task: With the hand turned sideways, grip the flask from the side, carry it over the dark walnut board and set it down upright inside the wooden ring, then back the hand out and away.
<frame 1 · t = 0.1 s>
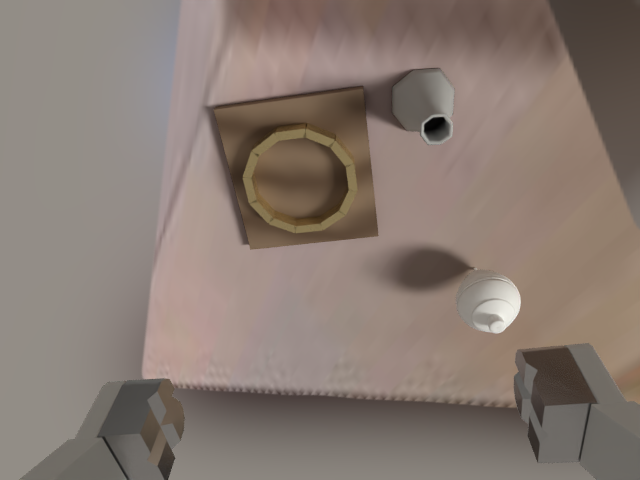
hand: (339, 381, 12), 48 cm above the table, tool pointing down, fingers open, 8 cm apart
flask: (422, 99, 56), on the table
spinning top: (474, 267, 68), on the table
walnut board: (302, 173, 61), on the table
wooden ring: (300, 180, 59), on the walnut board, point 2 cm above the table
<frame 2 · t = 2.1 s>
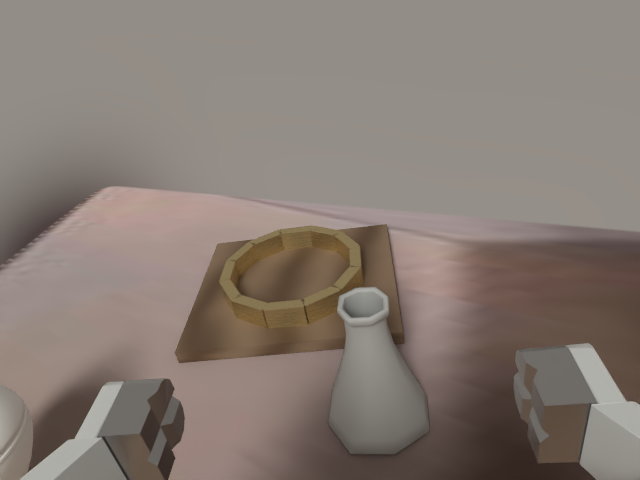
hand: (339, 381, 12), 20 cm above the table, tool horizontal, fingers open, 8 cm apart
flask: (378, 414, 35), on the table
walnut board: (296, 290, 48), on the table
wooden ring: (292, 271, 47), on the walnut board, point 2 cm above the table
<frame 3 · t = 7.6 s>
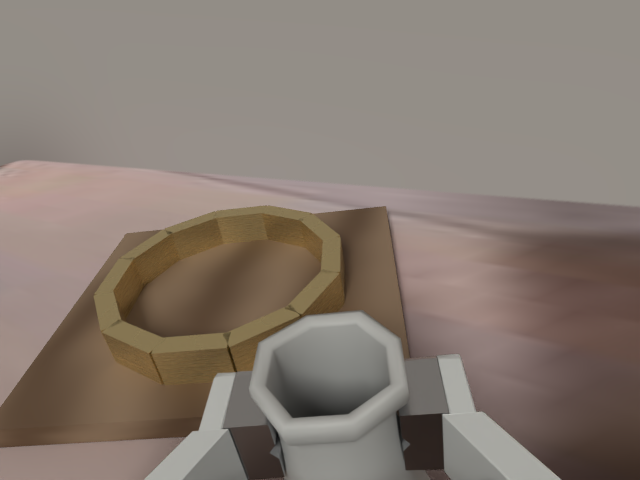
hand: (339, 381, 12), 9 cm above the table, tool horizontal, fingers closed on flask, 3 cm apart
walnut board: (234, 309, 29), on the table
wooden ring: (224, 279, 28), on the walnut board, point 2 cm above the table
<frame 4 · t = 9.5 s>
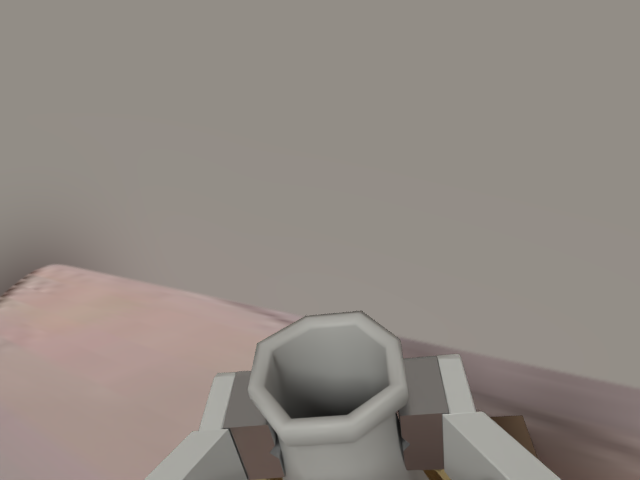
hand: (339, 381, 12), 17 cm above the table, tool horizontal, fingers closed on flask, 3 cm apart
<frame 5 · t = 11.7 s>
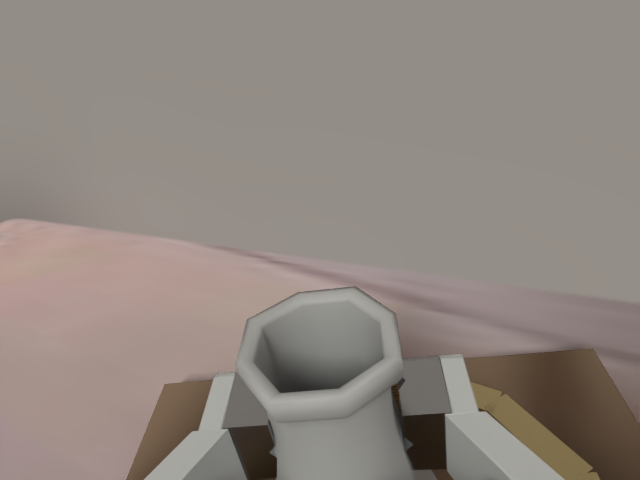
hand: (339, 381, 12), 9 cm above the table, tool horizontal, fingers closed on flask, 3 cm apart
when the fingers open (9 cm above the table, at t = 11.9 s): flask stays where it is, resting on walnut board.
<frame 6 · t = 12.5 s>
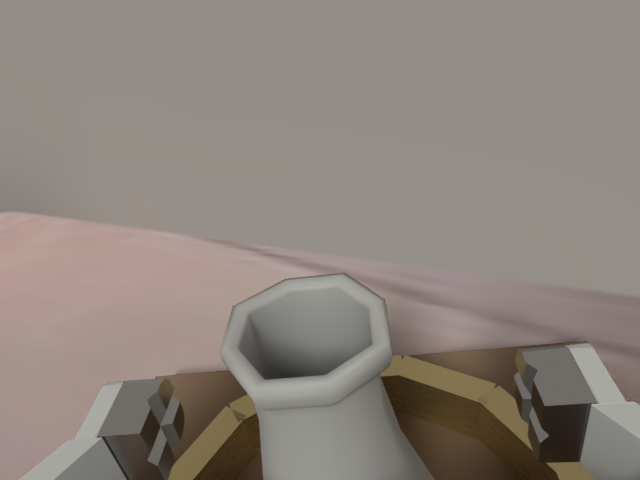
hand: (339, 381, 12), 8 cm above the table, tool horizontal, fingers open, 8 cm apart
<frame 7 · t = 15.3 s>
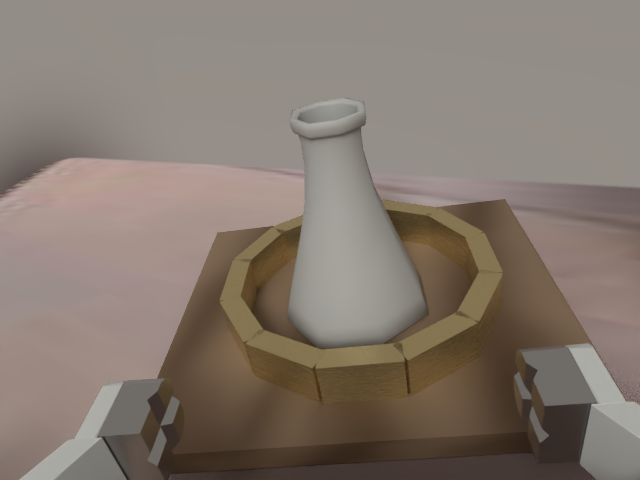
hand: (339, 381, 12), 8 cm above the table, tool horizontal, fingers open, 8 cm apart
flask: (356, 305, 25), point 1 cm above the table, touching walnut board
walnut board: (362, 315, 26), on the table
wooden ring: (358, 281, 25), on the walnut board, point 2 cm above the table
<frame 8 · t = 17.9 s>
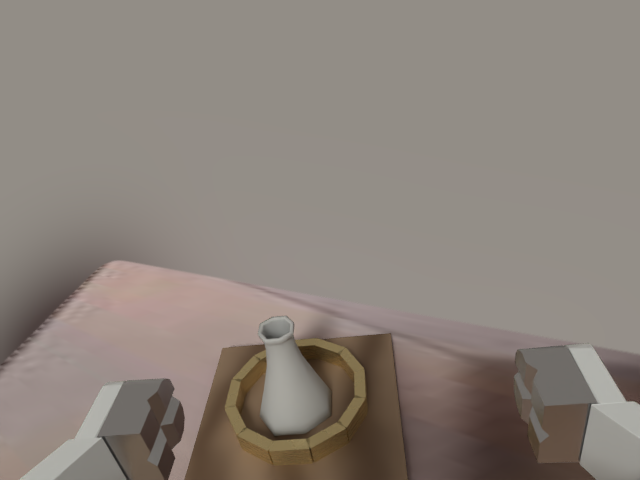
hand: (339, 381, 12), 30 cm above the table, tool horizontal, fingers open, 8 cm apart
flask: (296, 407, 48), point 1 cm above the table, touching walnut board
walnut board: (301, 410, 49), on the table
wooden ring: (297, 395, 47), on the walnut board, point 2 cm above the table
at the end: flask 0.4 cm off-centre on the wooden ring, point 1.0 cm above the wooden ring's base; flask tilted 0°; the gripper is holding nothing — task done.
